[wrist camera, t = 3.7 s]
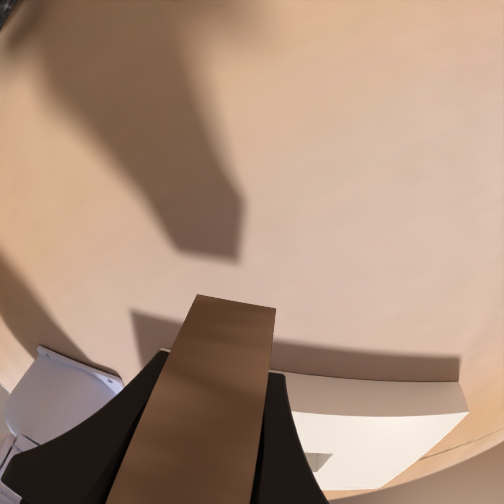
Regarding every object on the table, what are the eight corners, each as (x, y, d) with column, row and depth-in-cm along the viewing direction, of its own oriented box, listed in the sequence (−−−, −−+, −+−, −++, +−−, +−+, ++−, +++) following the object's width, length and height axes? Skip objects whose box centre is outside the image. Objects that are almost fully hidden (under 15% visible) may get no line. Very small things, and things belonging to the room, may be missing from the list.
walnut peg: (196, 348, 14) (132, 528, 6) (197, 294, 12) (102, 510, 4) (264, 361, 13) (232, 553, 6) (276, 308, 12) (241, 549, 4)
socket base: (177, 444, 26) (170, 467, 24) (161, 347, 19) (145, 381, 16) (377, 466, 25) (378, 488, 22) (458, 381, 17) (469, 411, 15)
